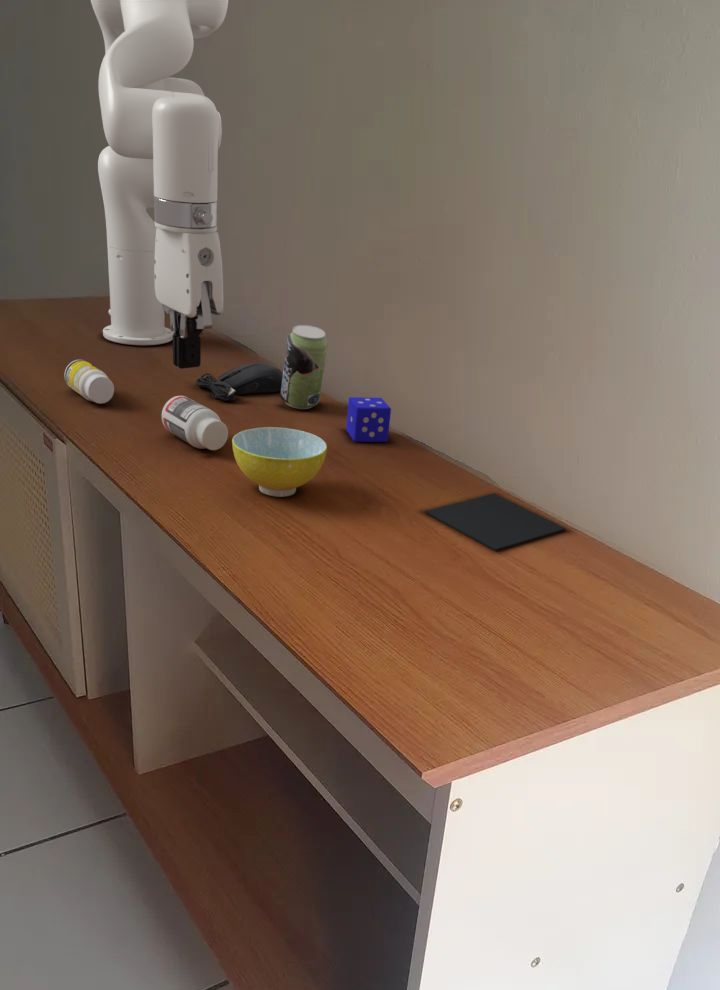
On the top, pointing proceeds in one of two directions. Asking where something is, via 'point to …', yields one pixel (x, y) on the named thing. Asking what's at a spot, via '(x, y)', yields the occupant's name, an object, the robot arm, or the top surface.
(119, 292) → the robot arm
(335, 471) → the top surface
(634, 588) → the top surface
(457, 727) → the top surface
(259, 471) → the bowl
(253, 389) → the computer mouse
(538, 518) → the mat
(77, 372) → the supplement bottle
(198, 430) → the pill bottle
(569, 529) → the top surface
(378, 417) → the die
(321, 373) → the beverage can
